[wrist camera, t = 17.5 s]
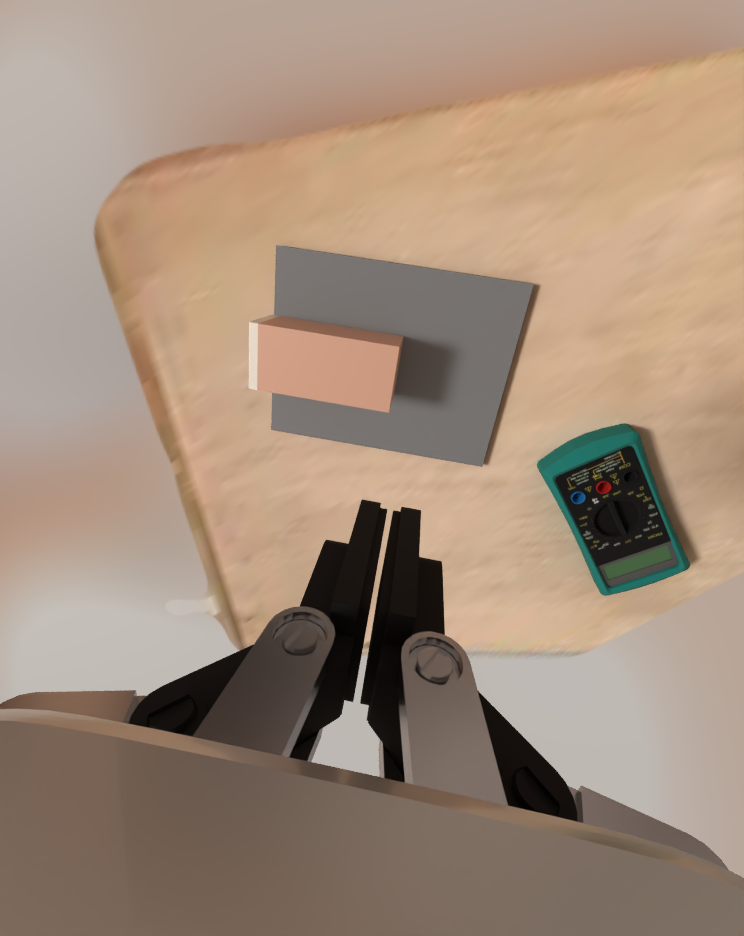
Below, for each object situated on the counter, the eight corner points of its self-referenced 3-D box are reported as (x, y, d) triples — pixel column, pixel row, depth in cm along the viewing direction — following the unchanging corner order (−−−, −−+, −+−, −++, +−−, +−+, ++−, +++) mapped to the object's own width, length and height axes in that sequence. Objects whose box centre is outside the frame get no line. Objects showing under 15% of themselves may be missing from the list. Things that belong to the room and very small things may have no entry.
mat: (531, 283, 29) (533, 283, 28) (481, 463, 35) (482, 466, 35) (278, 245, 30) (276, 245, 29) (273, 427, 36) (271, 429, 36)
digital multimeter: (622, 413, 32) (638, 426, 30) (678, 553, 37) (697, 575, 34) (530, 454, 35) (538, 469, 32) (594, 581, 40) (605, 603, 37)
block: (399, 346, 27) (249, 322, 27) (388, 412, 29) (249, 388, 29) (403, 336, 31) (272, 314, 31) (393, 394, 33) (270, 373, 34)
